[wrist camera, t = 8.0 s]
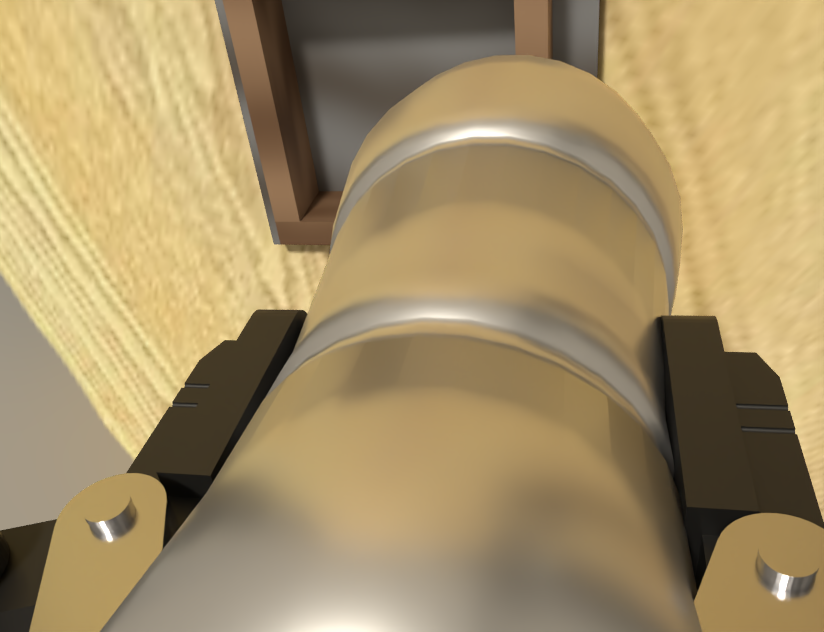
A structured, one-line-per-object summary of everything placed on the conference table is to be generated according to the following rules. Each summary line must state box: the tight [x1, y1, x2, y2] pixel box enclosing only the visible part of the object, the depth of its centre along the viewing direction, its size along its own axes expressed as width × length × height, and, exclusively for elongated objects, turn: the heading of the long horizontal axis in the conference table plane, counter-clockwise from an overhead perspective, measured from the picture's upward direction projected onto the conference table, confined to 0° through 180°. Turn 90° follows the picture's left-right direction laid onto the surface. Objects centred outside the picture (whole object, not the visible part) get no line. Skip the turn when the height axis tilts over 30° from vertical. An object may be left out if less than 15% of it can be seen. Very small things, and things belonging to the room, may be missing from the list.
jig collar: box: [215, 0, 599, 245], centre depth 33 cm, size 16×16×4 cm
